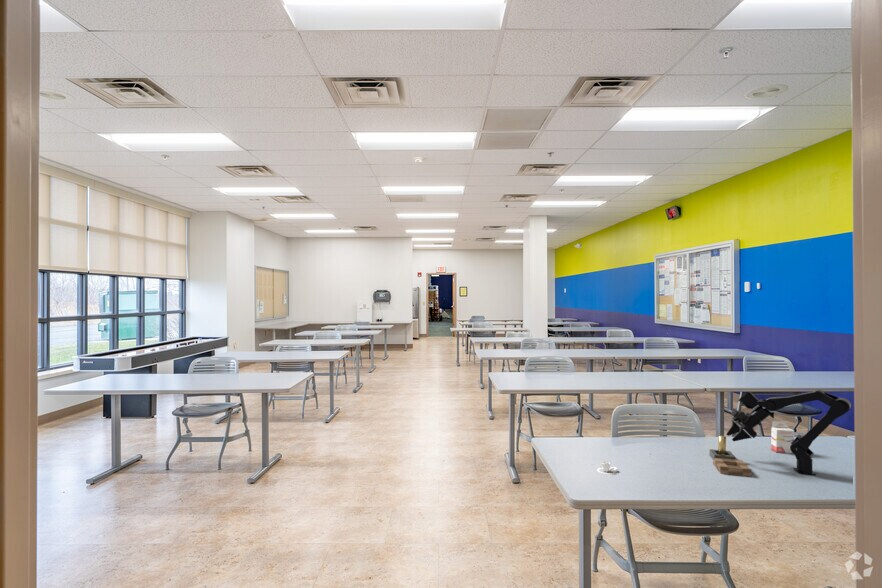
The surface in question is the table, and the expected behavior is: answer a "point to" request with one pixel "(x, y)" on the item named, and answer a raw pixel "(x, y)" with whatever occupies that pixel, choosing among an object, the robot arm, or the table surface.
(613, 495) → the table surface
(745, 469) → the wooden square frame
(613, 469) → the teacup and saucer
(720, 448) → the brass cylinder
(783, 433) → the ink cartridge box
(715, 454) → the socket block
